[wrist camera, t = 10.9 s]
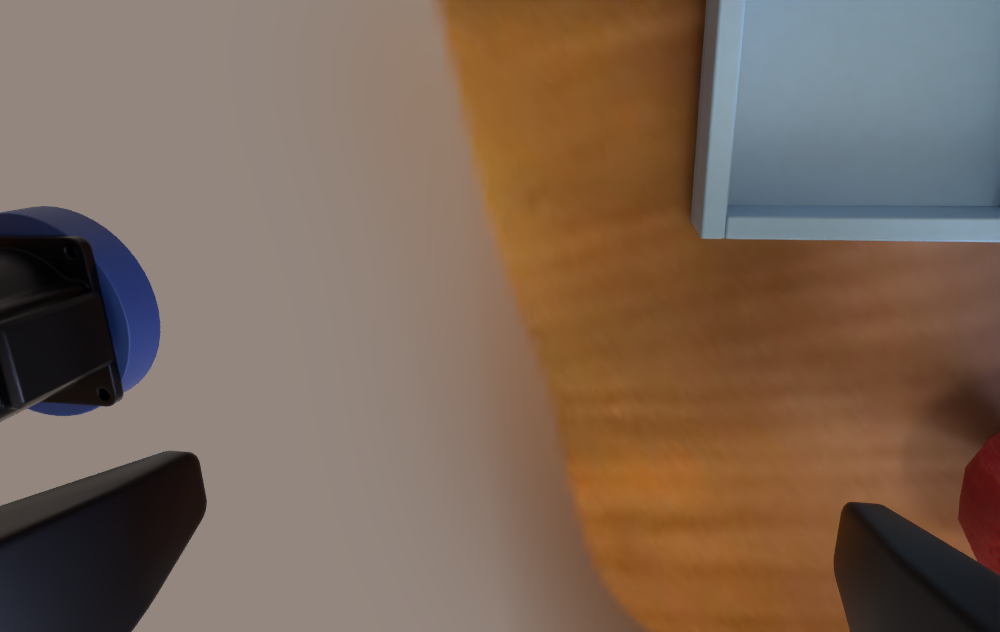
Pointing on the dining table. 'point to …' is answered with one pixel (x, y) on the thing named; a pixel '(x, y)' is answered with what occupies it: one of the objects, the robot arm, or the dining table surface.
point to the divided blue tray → (849, 121)
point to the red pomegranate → (983, 504)
